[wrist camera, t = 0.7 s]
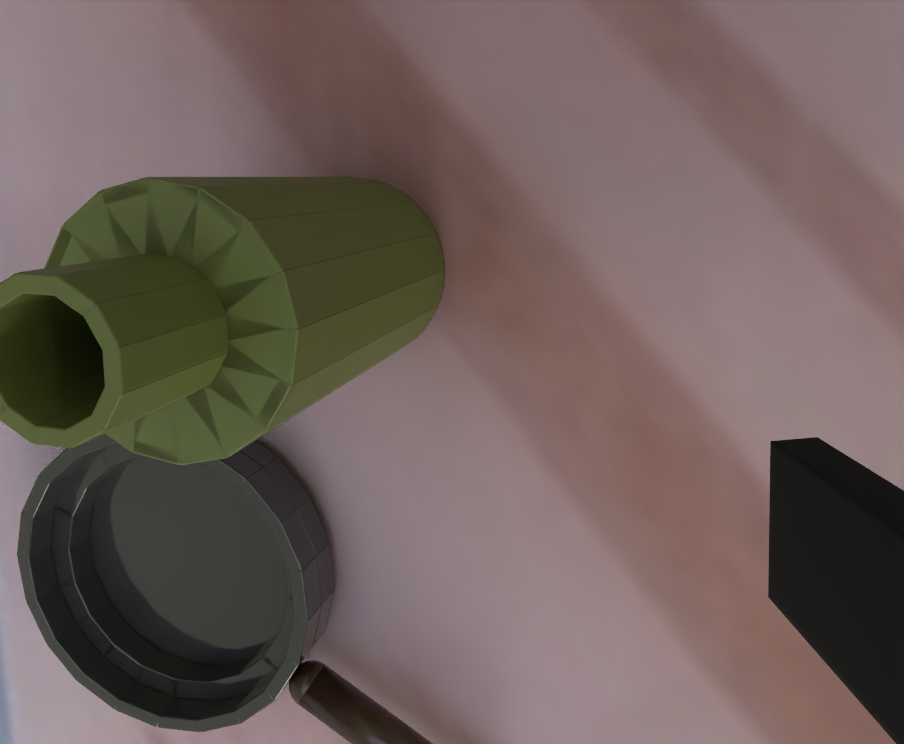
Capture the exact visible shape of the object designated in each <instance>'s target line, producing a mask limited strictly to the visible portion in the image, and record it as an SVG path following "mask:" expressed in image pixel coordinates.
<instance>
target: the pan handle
mask: <svg viewBox="0 0 904 744" xmlns="http://www.w3.org/2000/svg"><path fill="white" fill-rule="evenodd" d="M289 691H290V694H291V696H292V698H293V699H294V701H295V702H296V703H297V704H299V705H300V706H301V707H303V708H304V709H306V710H307V711H308V712H310V713H311V714H312V715H314V716H315V717H316V718H318V719H319V720H320V721H322V722H323V723H324V724H326V725H327V726H328V727H330V728H331V729H333V730H334V731H335V732H337V733H338V734H339V735H341V736H342V737H343V738H345V739H346V740H347V741H349V742H350V743H351V744H433V743H431V742H430V741H429V740H427V739H426V738H424V737H423V736H422V735H420V734H419V733H418V732H416V731H415V730H413V729H412V728H411V727H409V726H408V725H407V724H405V723H404V722H403V721H401V720H400V719H398V718H397V717H396V716H394V715H393V714H392V713H390V712H389V711H388V710H386V709H385V708H383V707H382V706H381V705H379V704H378V703H377V702H375V701H374V700H373V699H371V698H370V697H368V696H367V695H366V694H364V693H363V692H362V691H360V690H359V689H358V688H356V687H355V686H353V685H352V684H351V683H349V682H348V681H347V680H345V679H344V678H342V677H341V676H340V675H338V674H337V673H336V672H334V671H333V670H332V669H330V668H329V667H327V666H326V665H325V664H323V663H321V662H318V661H306V662H303V663H302V664H301V665H300V666H299V667H298V669H297V670H296V672H295V673H294V674H293V676H292V677H291V679H290V680H289Z"/></svg>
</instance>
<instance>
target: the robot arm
mask: <svg viewBox="0 0 904 744" xmlns="http://www.w3.org/2000/svg"><path fill="white" fill-rule="evenodd" d="M768 597H769V598H770V599H771V601H772V602H773V603H774V604H775V605H776V606H777V607H778V609H779V610H780V611H781V612H782V613H783V614H784V615H785V617H786V618H787V619H788V620H789V621H790V622H791V623H792V625H793V626H794V627H795V628H796V629H797V630H798V631H799V633H800V634H801V635H802V636H803V637H804V638H805V639H806V641H807V642H808V643H809V644H810V645H811V646H812V648H813V649H814V650H815V651H816V652H817V653H818V654H819V656H820V657H821V658H822V659H823V660H824V661H825V662H826V664H827V665H828V666H829V667H830V668H831V669H832V670H833V672H834V673H835V674H836V675H837V676H838V677H839V678H840V680H841V681H842V682H843V683H844V684H845V685H846V686H847V688H848V689H849V690H850V691H851V692H852V693H853V694H854V696H855V697H856V698H857V699H858V700H859V701H860V702H861V704H862V705H863V706H864V707H865V708H866V709H867V710H868V712H869V713H870V714H871V715H872V716H873V717H874V718H875V720H876V721H877V722H878V723H879V724H880V725H881V726H882V728H883V729H884V730H885V731H886V732H887V733H888V734H889V736H890V737H891V738H892V739H893V740H894V741H895V742H896V744H904V491H903V490H901V489H900V488H898V487H897V486H895V485H893V484H892V483H890V482H888V481H887V480H885V479H884V478H882V477H880V476H879V475H877V474H876V473H874V472H872V471H871V470H869V469H868V468H866V467H864V466H863V465H861V464H859V463H858V462H856V461H855V460H853V459H851V458H850V457H848V456H847V455H845V454H843V453H842V452H840V451H838V450H837V449H835V448H834V447H832V446H830V445H829V444H827V443H826V442H824V441H822V440H821V439H819V438H818V437H815V438H804V439H792V440H781V441H771V455H770V524H769V594H768Z"/></svg>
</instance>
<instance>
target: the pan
mask: <svg viewBox="0 0 904 744" xmlns="http://www.w3.org/2000/svg"><path fill="white" fill-rule="evenodd" d="M17 555H18V562H19V567H20V572H21V577H22V582H23V587H24V593H25V598H26V600H27V604H28V606H29V608H30V610H31V612H32V614H33V616H34V618H35V621H36V623H37V625H38V627H39V629H40V631H41V633H42V635H43V637H44V639H45V641H46V643H47V645H48V646H49V647H50V649H51V650H52V651H53V652H54V654H55V655H56V656H57V657H58V659H59V660H60V661H61V662H62V663H63V665H64V666H65V667H66V668H67V670H68V671H69V672H70V673H71V674H72V676H73V677H74V678H75V679H76V680H78V682H79V683H80V684H82V685H83V686H84V687H86V688H87V689H88V690H90V691H91V692H92V693H94V694H95V695H96V696H98V697H99V698H100V699H102V700H103V701H104V702H106V703H107V704H108V705H109V706H111V707H112V708H113V709H116V710H117V711H119V712H122V713H124V714H126V715H129V716H131V717H134V718H136V719H138V720H141V721H143V722H145V723H148V724H150V725H153V726H155V727H159V728H167V729H176V730H185V731H194V732H204V731H209V730H213V729H218V728H222V727H227V726H231V725H236V724H240V723H242V722H244V721H246V720H247V719H249V718H250V717H252V716H253V715H255V714H256V713H258V712H259V711H260V710H262V709H263V708H265V707H266V706H268V705H269V704H271V703H272V702H274V701H275V700H276V699H277V698H278V697H279V695H280V694H281V693H282V691H283V690H284V689H285V687H286V686H287V685H288V683H289V680H290V679H291V677H292V676H293V674H294V673H295V672H296V670H297V669H298V667H299V666H300V665H301V664H302V663H303V662H305V661H306V659H307V658H308V656H309V655H310V653H311V652H312V650H313V649H314V647H315V646H316V644H317V643H318V641H319V640H320V638H321V637H322V635H323V634H324V631H325V629H326V624H327V620H328V615H329V611H330V606H331V602H332V597H333V593H334V578H333V569H332V560H331V551H330V543H329V540H328V538H327V535H326V533H325V531H324V528H323V526H322V524H321V521H320V519H319V517H318V514H317V512H316V510H315V507H314V505H313V503H312V500H311V498H310V497H309V495H308V493H307V492H306V491H305V490H304V488H303V487H302V486H301V485H300V483H299V482H298V481H297V480H296V478H295V477H294V476H293V475H292V474H291V472H290V471H289V470H288V469H287V467H286V466H285V465H284V464H283V462H282V461H281V460H280V459H279V458H278V457H277V456H276V455H275V454H273V453H272V452H270V451H269V450H268V449H266V448H265V447H263V446H262V445H261V444H259V443H258V442H256V441H254V442H252V443H250V444H249V445H247V446H246V447H244V448H243V449H241V450H239V451H238V452H236V453H235V454H233V455H231V456H230V457H227V458H224V459H218V460H211V461H205V462H199V463H192V464H186V465H177V464H173V463H169V462H166V461H162V460H158V459H154V458H151V457H147V456H143V455H139V454H136V453H133V452H130V451H129V450H128V449H126V448H125V447H123V446H122V445H121V444H119V443H118V442H116V441H115V440H114V439H112V438H111V437H110V436H108V435H107V434H103V435H101V436H99V437H97V438H95V439H92V440H90V441H88V442H86V443H84V444H81V445H79V446H77V447H75V448H66V449H65V450H64V451H63V452H62V453H61V454H60V455H59V456H57V457H56V458H55V459H54V460H53V461H52V462H51V463H50V464H49V465H48V466H47V467H46V468H45V469H44V470H43V471H42V472H41V473H40V475H39V476H38V478H37V480H36V482H35V484H34V486H33V489H32V491H31V493H30V495H29V497H28V499H27V501H26V504H25V506H24V508H23V510H22V513H21V521H20V531H19V541H18V552H17Z"/></svg>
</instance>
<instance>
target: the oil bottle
mask: <svg viewBox="0 0 904 744" xmlns="http://www.w3.org/2000/svg"><path fill="white" fill-rule="evenodd" d="M443 285H444V259H443V253H442V249H441V245H440V242H439V239H438V237H437V234H436V232H435V230H434V228H433V226H432V224H431V222H430V221H429V219H428V217H427V216H426V215H425V214H424V212H423V211H422V210H421V208H420V207H419V206H418V205H417V204H416V203H415V202H414V201H413V200H411V199H410V198H409V197H408V196H406V195H405V194H404V193H402V192H401V191H399V190H397V189H395V188H394V187H392V186H389V185H387V184H384V183H382V182H378V181H374V180H369V179H360V178H353V177H146V178H142V179H139V180H135V181H132V182H128V183H125V184H121V185H117V186H114V187H110V188H107V189H103V190H101V191H99V192H98V193H97V194H96V195H95V196H93V197H92V198H91V199H90V200H89V201H88V202H87V203H86V204H85V205H84V206H83V207H81V208H80V209H79V210H78V211H77V212H76V213H75V214H74V215H73V216H72V217H71V218H69V219H68V220H67V221H66V222H65V223H64V225H63V226H62V228H61V230H60V233H59V235H58V237H57V240H56V242H55V244H54V247H53V249H52V252H51V254H50V256H49V259H48V261H47V263H46V266H45V268H44V269H39V270H32V271H25V272H19V273H15V274H14V275H12V276H11V277H9V278H8V279H6V280H4V281H3V282H1V283H0V420H1V421H2V422H3V423H5V424H6V425H7V426H9V427H10V428H11V429H13V430H14V431H16V432H17V433H18V434H20V435H21V436H22V437H24V438H25V439H27V440H28V441H29V442H31V443H34V444H40V445H48V446H56V447H64V448H75V447H77V446H79V445H81V444H84V443H86V442H88V441H90V440H92V439H95V438H97V437H99V436H101V435H103V434H107V435H108V436H110V437H111V438H112V439H114V440H115V441H116V442H118V443H119V444H121V445H122V446H123V447H125V448H126V449H128V450H129V451H130V452H133V453H136V454H139V455H143V456H147V457H151V458H154V459H158V460H162V461H166V462H169V463H173V464H177V465H186V464H192V463H199V462H205V461H211V460H218V459H224V458H227V457H230V456H231V455H233V454H235V453H236V452H238V451H239V450H241V449H243V448H244V447H246V446H247V445H249V444H250V443H252V442H254V441H255V440H257V439H258V438H260V437H262V436H263V435H265V434H266V433H268V432H270V431H271V430H273V429H274V428H276V427H277V426H279V425H281V424H282V423H284V422H285V421H287V420H289V419H290V418H292V417H293V416H295V415H296V414H298V413H300V412H301V411H303V410H304V409H306V408H308V407H309V406H311V405H312V404H314V403H315V402H317V401H319V400H320V399H322V398H323V397H325V396H327V395H328V394H330V393H331V392H333V391H335V390H336V389H338V388H339V387H341V386H342V385H344V384H346V383H347V382H349V381H350V380H352V379H354V378H355V377H357V376H358V375H360V374H361V373H363V372H365V371H366V370H368V369H369V368H371V367H373V366H374V365H376V364H377V363H379V362H380V361H382V360H384V359H385V358H387V357H388V356H390V355H392V354H393V353H394V352H396V351H397V350H399V349H400V348H402V347H403V346H405V345H406V344H408V343H409V342H411V341H412V340H413V339H415V338H416V337H417V336H418V335H419V334H420V333H421V332H422V331H423V330H424V329H425V327H426V326H427V325H428V323H429V322H430V320H431V319H432V317H433V315H434V313H435V311H436V309H437V307H438V304H439V302H440V299H441V295H442V290H443Z"/></svg>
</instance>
